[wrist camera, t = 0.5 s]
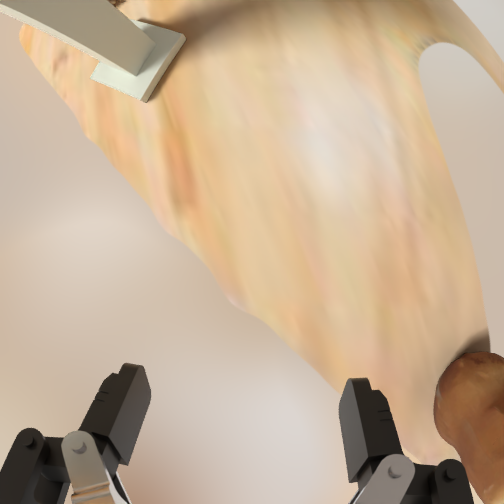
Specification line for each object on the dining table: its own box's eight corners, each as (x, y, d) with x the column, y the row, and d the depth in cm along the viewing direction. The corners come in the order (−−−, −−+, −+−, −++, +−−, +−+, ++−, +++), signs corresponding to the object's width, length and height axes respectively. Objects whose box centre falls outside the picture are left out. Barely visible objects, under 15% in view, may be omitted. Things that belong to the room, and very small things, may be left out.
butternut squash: (502, 368, 34) (580, 462, 9) (441, 422, 37) (491, 537, 13) (472, 317, 33) (583, 422, 9) (402, 382, 36) (461, 526, 12)
